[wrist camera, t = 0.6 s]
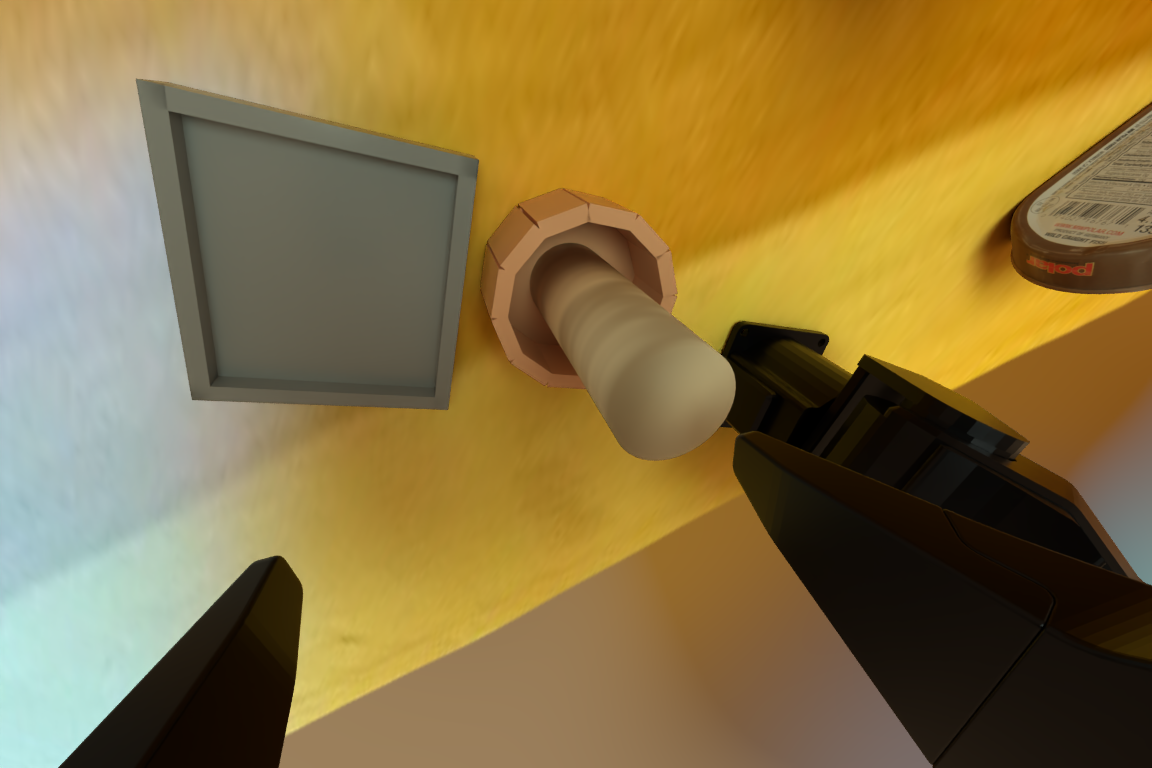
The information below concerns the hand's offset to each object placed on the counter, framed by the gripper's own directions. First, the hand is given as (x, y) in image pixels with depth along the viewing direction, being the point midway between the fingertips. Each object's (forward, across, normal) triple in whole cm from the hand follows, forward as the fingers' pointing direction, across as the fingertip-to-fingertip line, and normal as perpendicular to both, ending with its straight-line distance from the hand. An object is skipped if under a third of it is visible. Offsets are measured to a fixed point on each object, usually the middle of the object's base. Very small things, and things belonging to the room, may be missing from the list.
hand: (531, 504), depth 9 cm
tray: (+12, +5, -2) cm, 14 cm away
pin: (+12, -4, 0) cm, 13 cm away
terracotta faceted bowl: (+13, -4, 0) cm, 13 cm away
